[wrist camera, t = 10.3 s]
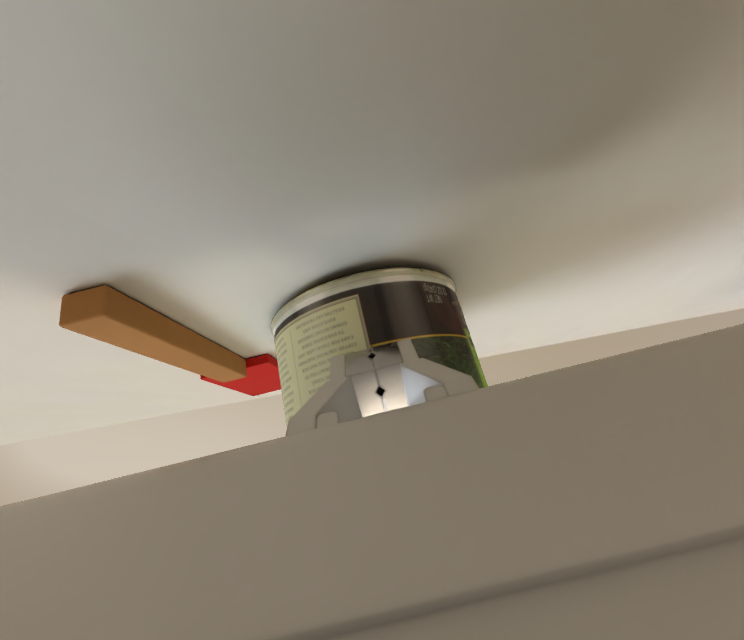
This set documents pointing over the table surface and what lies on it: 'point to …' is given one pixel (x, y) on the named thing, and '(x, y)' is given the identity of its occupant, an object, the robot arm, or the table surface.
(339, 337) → the coffee can
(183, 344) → the spatula
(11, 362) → the table surface
